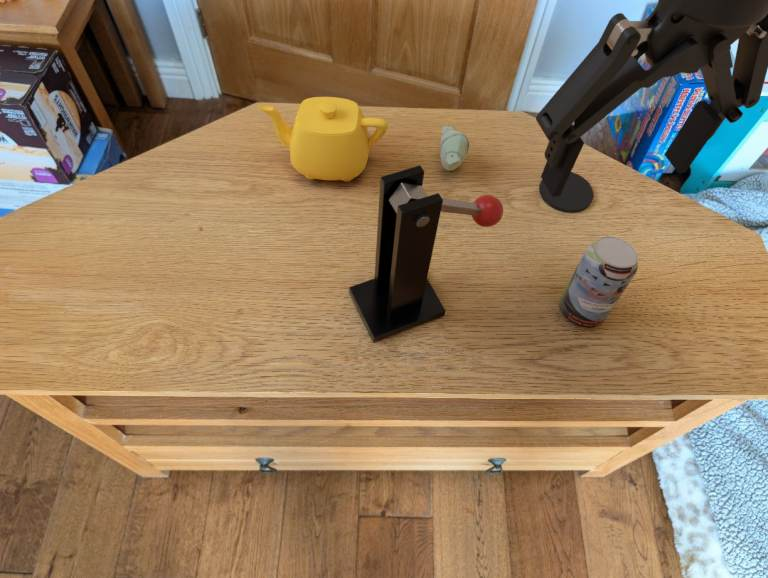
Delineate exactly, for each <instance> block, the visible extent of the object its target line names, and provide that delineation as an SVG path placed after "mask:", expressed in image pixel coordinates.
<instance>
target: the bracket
mask: <svg viewBox="0 0 768 578" xmlns="http://www.w3.org/2000/svg"><path fill="white" fill-rule="evenodd" d="M424 177H425V170H424V168H423V167H422V165H420V164H418V165H416V166H413V167H409V168H406V169H401V170H399V171H396V172H392V173H389V174H385V175H382V176H380V178H379V179H380V180H379V181H380V182H379V194H378V195H379V197H378V212H377V230H376V246H375V261H374V278H372V279H369V280H366V281H363V282H361V283H357V284H354V285H351V286H350V287H348V293H349V296H350V297H351V299H352V302H353V304H354V305H355V308H356V310H357V312H358V314H359V316H360V318H361V320H362V322H363V324H364V326H365V328H366V331H367V333H368V335H369V337H370V339H371V340H372V343H376V342H379V341H382V340H384V339H387V338H390V337H393V336H395V335H398V334H400V333H402V332H406V331H408V330H412V329H413V328H416V327H419V326H421V325H424V324H427V323H429V322H432V321H435V320H438V319H439V318H442V317H445V316H446V312H447V310H446V309H445V306H444V305H443V303H442V302H441V300H440V298H439V296H438V295H437V293H436V292H435V290H434V288H433V286H432V284H431V283H430V281H429V279H428V276H429V275H428V274H429V271H430V266H431V261H432V256H433V252H434V247H435V242H436V237H437V232H438V226H439V223H440V222H439V221H440V218H441V208H442V203H443V199H442V198H443V197H442V196H441V194H440V193H439V192H437V193H434V194H431V195H428V196H427V197H424V198H421V199H418V200H415V201H411V202H408V203H405V204H402V205H399V206H398V209H397V213H396V211H395V210H394V208H393V206H392V205H391V203H390V201H389V199H390V198H391V196H392V195H393V193H394V192H395V191H396V189H397V188H398V186H399V185H400V184H401V183H407V184H413V185H419V186H422V187H423V184H424Z"/></svg>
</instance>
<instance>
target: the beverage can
mask: <svg viewBox="0 0 768 578" xmlns="http://www.w3.org/2000/svg"><path fill="white" fill-rule="evenodd" d="M638 260H639V254H638V252H637V250H636V249H635V247H634V246H633V245H632V244H630V243H629V241H626V240H624V239H622V238H619V237H617V236H609V235H607V236H603V237H601V238H598V239H597V241H594V242H592V243H590V244H589V245H588V246H587V248H586V249H585V251H584V253H583V254H582V257H581V259H580V261H579V262H578V264H577V266H576V267H575V270H574V271H573V274H572V275H571V277H570V279H569V281H568V283H567V284H566V287H565V288H564V290H563V292H562V294H561V296H560V298H559V300H558V308H559V311H560V312H561V314H562V316H563V317H564V318H565V319H566V320H567V321H568V322H569V323H571V324H573V325H575V326H578V327H581V328H585V329H594V328H597V327H599V326H601V325H602V324H603V323H604V322H605V320H606V318H607V317H608V315H609V314H610V313H611V311H612V310H613V308H614V307H615V305H616V303H617V302H618V301H619V299H620V298H621V296H622V295H623V293H624V291H625V290H626V289H627V287H628V286H629V284H630V282H631V281H632V279H633V278H634V276H635V275H636V273H637V272H638V266H639V265H638V264H639V263H638Z"/></svg>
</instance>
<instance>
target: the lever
mask: <svg viewBox="0 0 768 578" xmlns="http://www.w3.org/2000/svg"><path fill="white" fill-rule="evenodd" d="M427 196H429V195H428V194H427V192H426V191H425V189H424V187H423V185H422V186H419V185H413V184H407V183H401V184H400V185H399V186H398V188H397V189H396V191H395V192H394V193H393V195H392V196H391V198H390V199H389V201H390V203H391V205H392V206H393V208H394V210H395V211H396V213H397V209H398V206H399V205H402V204H405V203H408V202H411V201H415V200H418V199H421V198H424V197H427ZM442 199H443V203H442V208H441V212H442V213H450V214H458V215H465V216H471V218H472V220H473V221H474V223H475V224H477V225H479V226H480V227H483V228H490V227H494V226H496V225H497V224H498V223H499V222H500V221H501V220H502V218H503V215H504V207H503V203H502V201H501V200H500V199H499V198H498V197H497V196H494V195H492V194H484V195H480V196H479V197H477V198H476V199H475V200H474V201H473V202H472V201H466V200H458V199H451V198H445V197H442Z"/></svg>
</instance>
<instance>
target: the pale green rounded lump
mask: <svg viewBox="0 0 768 578" xmlns="http://www.w3.org/2000/svg"><path fill="white" fill-rule="evenodd" d="M469 141H470V140H469V139H468V137H467V135H466V134H465V133H464V132H463V131H458V130H456V129H455V127H454V126H450V125H449V126H448V125H446V126H445V125H444V126H442V129H441V139H440V142H439V143H440V144H439V145H440V146H439V148H440V149H439V150H440V151H439V152H440V153H439V156H440V162H441V165H442V167H443V169H444V170H445V171H454V170H456V169H457V168H458V167H460V166H461V164H462V163H463V162H464V160H465V159H466V157H467V155H468V153H469V149H470V142H469Z"/></svg>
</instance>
